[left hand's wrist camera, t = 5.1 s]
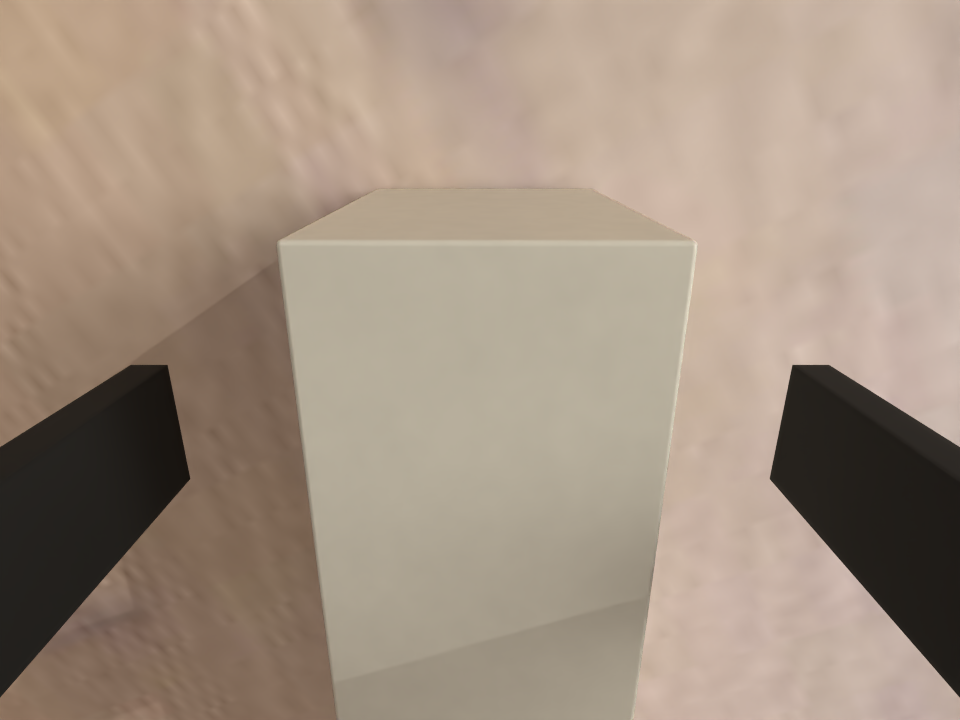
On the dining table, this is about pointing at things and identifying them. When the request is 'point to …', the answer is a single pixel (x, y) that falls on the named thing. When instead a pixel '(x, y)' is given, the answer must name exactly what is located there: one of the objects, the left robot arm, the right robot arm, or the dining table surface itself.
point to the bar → (485, 444)
